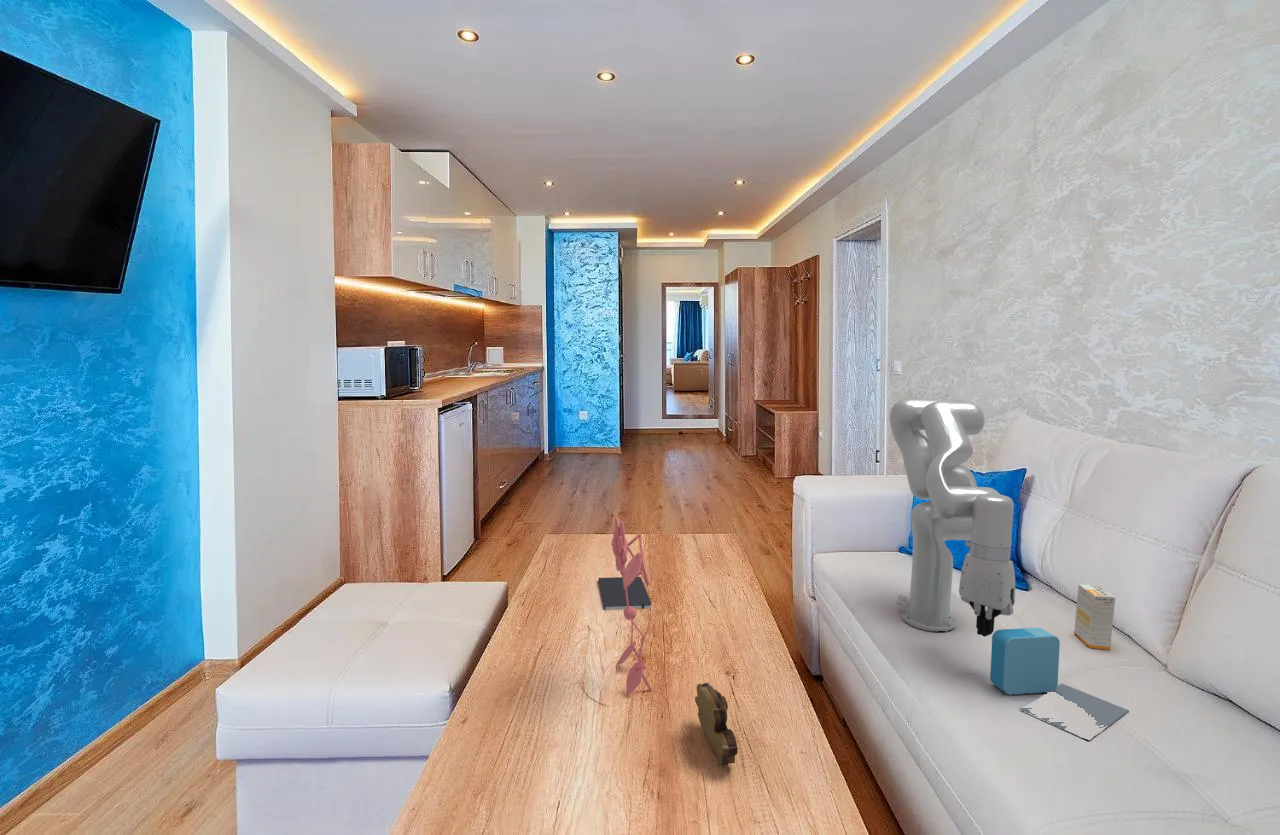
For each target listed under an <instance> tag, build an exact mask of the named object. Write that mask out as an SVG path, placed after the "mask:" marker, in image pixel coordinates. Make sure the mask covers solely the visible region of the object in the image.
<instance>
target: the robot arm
mask: <svg viewBox="0 0 1280 835" xmlns="http://www.w3.org/2000/svg"><path fill="white" fill-rule="evenodd" d="M889 425H890V430H891V432H892V436H893V439H894V441H895V443H896V445H897V447H898V448H899V451H900V453H901V455H902V459H903V464H904V469H905V472H906V477H907V481H908V485H909V488H910V492H911V494H912V495H913V496H914V498H917V499H918V500H924V501H923V502H920V503H918V504H917V505H915V506H914V507H913V508H912V510H911V513H910V523H911V531H912V532H911V533H912V560H911V562H912V563H911V573H910V574H911V576H910V578H911V579H910V588H909V589H910V591H909V597H907V596H905V595H902V594H900V595H898V598H897V601H896V604H897V605H899V606H901V607H904V610H903V611H902V615H901V618H902V620H903V621H904V622H905V623H907V624H908V625H910V626H911V627H913V628H917V629H919V630H924V631H926V632H927V631H928V632H934V631H936V633H938V632H937V631H946V632H949V631H948V630H951V629H953V628H954V627H955V628H956V620H955V619H954V618H953V617H952V616H951V615H950V613H951V612H950V610H951V609H950V608H951V595H952V585H953V584H952V582H953V573H954V572H953V570H954V556H953V554H952V552H951V550H950V549H949V547H948V546H947V545H946V543H945V542H947V541H965V544H964V545H965V547H967V548H969V552H968V553H966V554H965V557H964V560H963V563H962V567H961V573H960V578H959V586H958V592H959V593H958V594H959V596H960V599H961V601H963V602H964V603H966V604H968V605H969V606H970V607H971V608H972V610H973V611H974V615H975V616H976V624H975V628H976V633H977V635H979V636H982V637H988V636H989V635H993V633H994V632H995V618H997V617H998V616H1000V615H1002V616H1012V615H1013V614H1014V608H1013V606H1014V605H1015V602H1016V576H1015V567H1014V566H1015V565H1014V562H1013V560H1011V551H1012V550H1011V548H1012V533H1013V522H1014V509H1015V508H1014V507H1015V503H1014V501H1013V499H1012V498H1011V497H1010V496H1007V495H1004V494H1000V493H999V492H998V491H997V490H996V489H995V488H993V487H987V486H978V484H977V481H976V478H975V476H974V474H973V472H972V471H971V470H970V469H969V468H968V467H967V466H965V465H963V464H964V463H965V462H967V461H968V460H969V459H970V458H971V457H972V455H973V453H974V449H973V445H972V443H971V442H970V439H969V436H975V435H978V434H979V433H981V431H982V430H983V428H984V426H985V416H984V413H983V411H982V409H981V407H980V406H979V405H978V404H976V403H974V402H973V401H966V400H961V399H960V400H959V399H951V398H906V399H901V400H898V401H897V402H895V403H894V404H893V406H892V407H891V409H890V414H889ZM921 431H924V432H925V434H926V435H924V434H923V433H921ZM925 500H928V501H925ZM955 628H954V629H955ZM954 629H953V630H954ZM951 631H952V630H951Z"/></svg>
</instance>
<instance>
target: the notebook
mask: <svg viewBox="0 0 1280 835" xmlns="http://www.w3.org/2000/svg"><path fill="white" fill-rule="evenodd" d="M597 581H598V586H599V590H600V595H601V596H600V597H601V599H602V600H601V601H602V604H603V609H604V611H607V610H608V611H611V610H625V608H626V607H627V602H626V594H625V589H624V586H623V578H622V576H620V577H619V576H617V577H615V576H614V577H598V580H597ZM627 592H628V604H629V607H630V606H631V607H634V608H635V610H636V609H637V610H638V609H642V610H643V609H650V608H651V607H652V601H651V599H650V596H649V594H648V592H647V589H646V586H645V582H644V581H643V577H641V576H637V577H636V578H635V580H634V581H633V582H632V583H631V584H630V586H629V587H628V588H627Z"/></svg>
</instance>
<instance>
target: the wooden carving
mask: <svg viewBox="0 0 1280 835" xmlns="http://www.w3.org/2000/svg"><path fill="white" fill-rule="evenodd" d="M696 695H697V696H695V697H694V701H695V704H696V706H697V710H698V711H697V712H698V713H697V717H698V720H699V723H700V726H701V729H702V732H703V734H704V738H705V740H706V743H707V745H708V747H709V749H710V750H711V752H712V753H714V754H715V755H716V757H717V759H718V763H719V764H720V766H722V767H724V766H728V765H729V764H734V763H735V762H736V755H738V752H739V751H738V749H739V748H738V744H737V743H738V742H737V738H736V736H735V733H734V731H733V730H732V729H730V728H728V726H727V722H728V709H729V707H728V701H727V698H726V697H725V696H724V695H722V694H721V692H720V691H718V690H716V689H715V688H714V687H713V686H712V685H710V683H709V682H706V683H705V682H703V683H698V684H696Z"/></svg>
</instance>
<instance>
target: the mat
mask: <svg viewBox="0 0 1280 835" xmlns="http://www.w3.org/2000/svg"><path fill="white" fill-rule="evenodd" d="M1053 692H1056V693H1057V694H1059V695H1060V696H1063V697H1064V699H1065V700H1068V701H1072V702H1073V703H1076V704H1077V706H1078V707H1080V708H1083V709H1084V710H1085V712H1086V713H1088V716H1089V715H1090V714H1091V717H1094V718H1095V719H1094V720H1096V721H1097V722H1096V723H1095V724H1096V725H1098V726H1100V725H1104V726H1103V727H1106V726H1109V725H1110V724H1112V723H1113V724H1114V722H1115V723H1117V721H1119V720H1120V719H1121V718H1122V717H1124V716H1125V715H1126V713H1127V712H1128V713H1129V712H1130V709H1128V708H1127V709H1126V708H1124V707H1122V706H1119V705H1117V704H1114V703H1112V702H1109V701H1106V700H1105V699H1101V698H1099V697H1097V696H1094V695H1092V694H1090V693H1086V692H1084V691H1081V690H1080V689H1077V688H1074V687H1072V686H1069V685H1067V684H1064V683H1060V684H1058V685H1057V688H1056V689H1055V690H1054V691H1053ZM1019 709H1021V710H1022V711H1025V712H1027V713H1030V714H1032V713H1031V712H1030V710H1028V709H1032V708H1022V707H1020V708H1019ZM1022 711H1021V712H1022ZM1027 713H1026V714H1027ZM1128 713H1127V714H1128ZM1032 715H1036V714H1032ZM1036 717H1037V716H1036ZM1041 719H1043V720H1045V721H1048V720H1049V719H1050V718H1041ZM1052 719H1053V718H1052ZM1048 722H1049V721H1048ZM1050 723H1051V724H1053V725H1055V726H1057V727H1060V728H1062V729H1065V728H1066V727H1067V726H1061V724H1062V723H1064V722H1050ZM1097 723H1098V724H1097ZM1051 724H1050V725H1051ZM1113 724H1112V725H1113ZM1053 725H1052V726H1053ZM1055 726H1054V727H1055ZM1110 726H1111V725H1110ZM1110 726H1109V727H1110ZM1057 727H1056V728H1057ZM1103 727H1099V728H1103ZM1060 728H1059V729H1060ZM1062 729H1061V730H1062Z"/></svg>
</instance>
